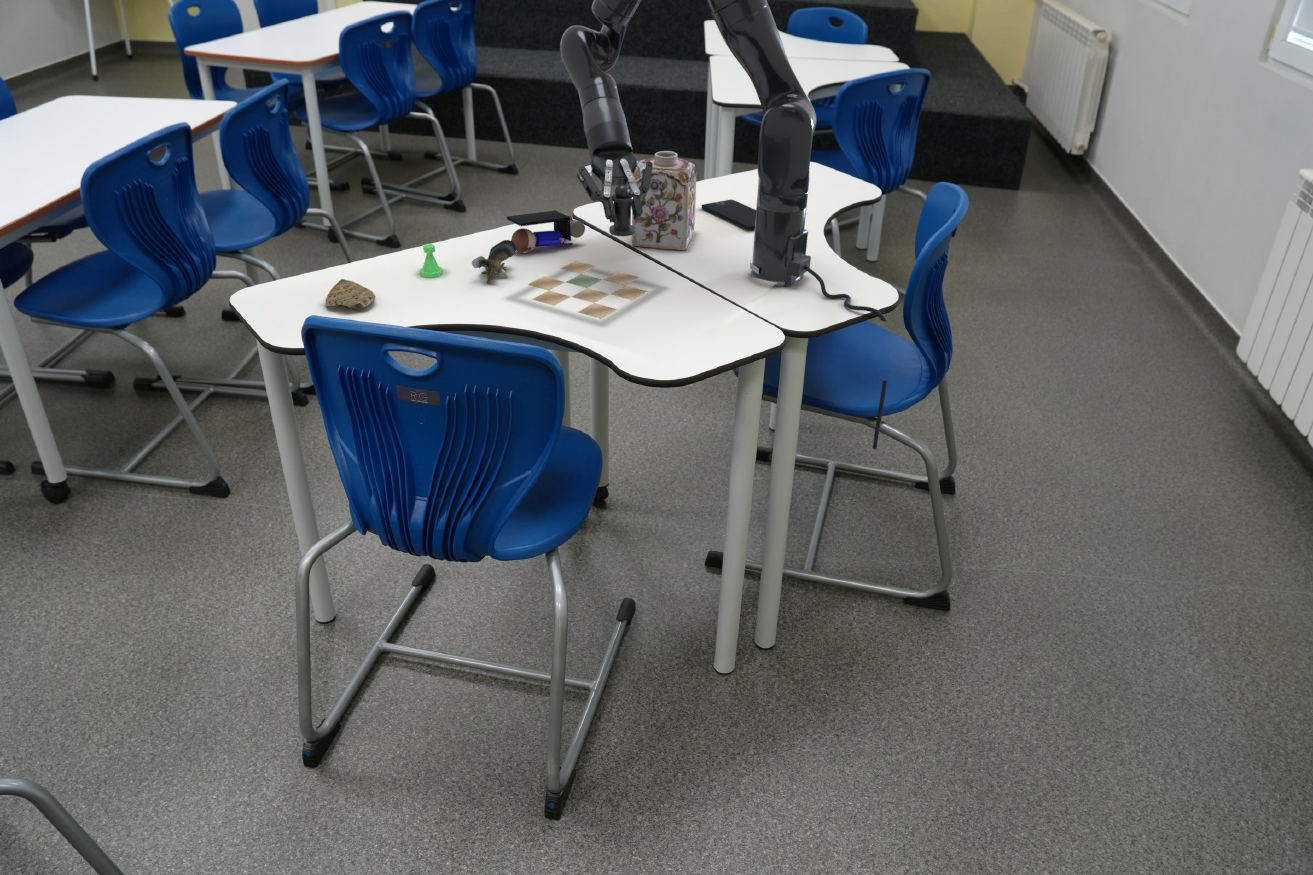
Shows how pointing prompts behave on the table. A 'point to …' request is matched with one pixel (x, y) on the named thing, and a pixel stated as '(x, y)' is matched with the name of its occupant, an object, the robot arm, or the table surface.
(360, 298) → the brown rock
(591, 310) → the chess board
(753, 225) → the cell phone
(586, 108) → the robot arm
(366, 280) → the table surface
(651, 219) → the decorative jar
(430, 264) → the game piece
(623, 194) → the black chess piece
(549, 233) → the figurine character
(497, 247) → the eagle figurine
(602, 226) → the table surface
